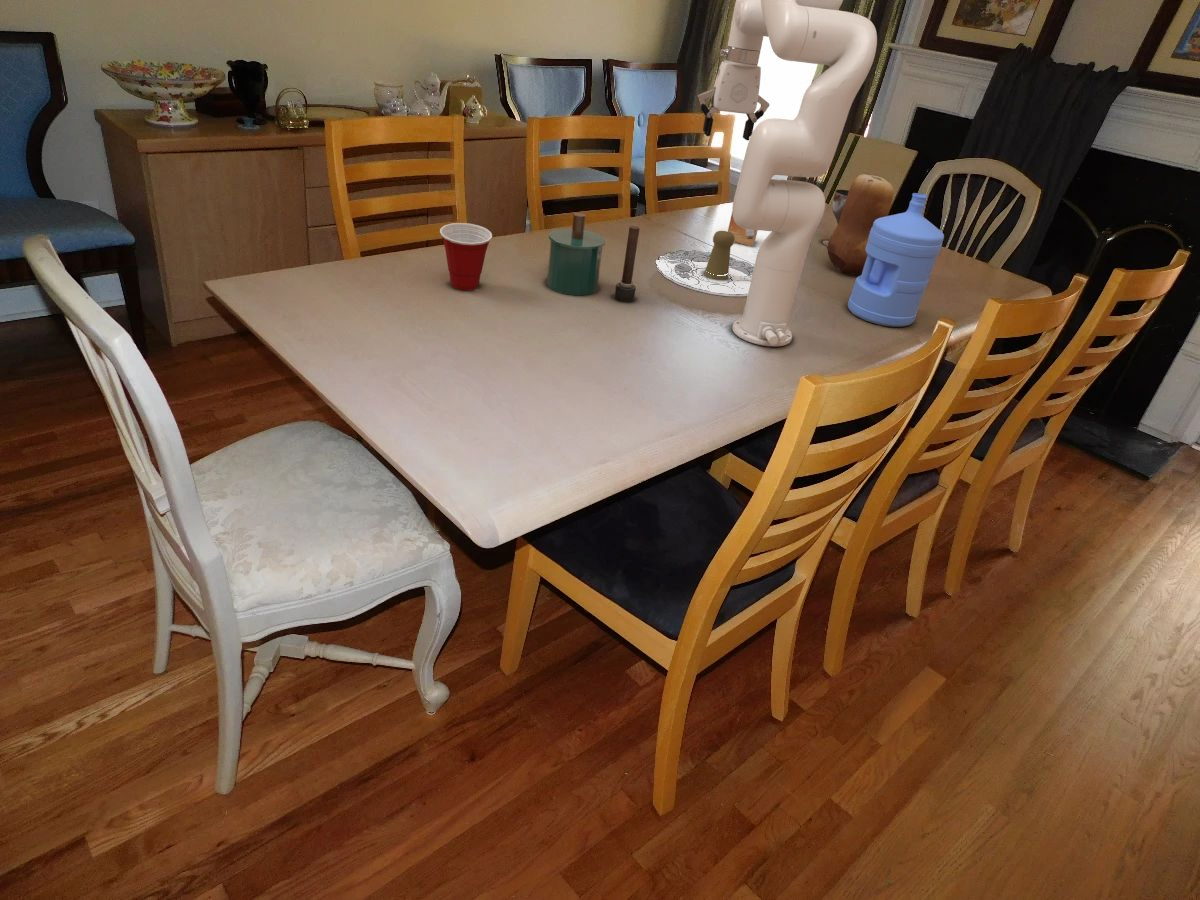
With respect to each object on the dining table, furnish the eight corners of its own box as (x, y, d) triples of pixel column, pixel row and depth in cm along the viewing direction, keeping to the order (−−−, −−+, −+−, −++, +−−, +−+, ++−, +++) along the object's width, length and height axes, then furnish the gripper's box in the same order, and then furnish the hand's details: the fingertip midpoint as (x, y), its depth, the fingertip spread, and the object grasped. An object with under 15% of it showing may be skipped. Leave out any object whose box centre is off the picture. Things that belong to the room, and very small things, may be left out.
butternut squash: (881, 276, 207) (913, 182, 194) (854, 283, 199) (885, 185, 186) (838, 260, 215) (866, 168, 202) (811, 266, 207) (837, 171, 194)
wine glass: (815, 240, 230) (829, 189, 222) (836, 239, 233) (850, 189, 225) (832, 249, 224) (847, 197, 216) (853, 248, 227) (869, 197, 219)
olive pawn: (727, 273, 194) (736, 230, 188) (728, 281, 189) (738, 237, 183) (703, 269, 194) (712, 226, 188) (704, 277, 189) (713, 233, 183)
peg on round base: (635, 302, 169) (646, 231, 161) (616, 301, 168) (626, 229, 160) (632, 295, 173) (642, 225, 164) (612, 294, 172) (622, 223, 163)
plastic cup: (445, 296, 159) (445, 239, 153) (434, 277, 168) (434, 222, 161) (495, 294, 163) (498, 239, 157) (483, 276, 172) (485, 222, 165)
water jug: (899, 305, 189) (939, 190, 174) (923, 331, 176) (969, 209, 161) (838, 299, 187) (873, 182, 173) (858, 324, 174) (898, 200, 159)
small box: (725, 241, 218) (733, 203, 212) (728, 236, 222) (736, 199, 217) (752, 246, 216) (761, 209, 210) (755, 241, 221) (763, 205, 215)
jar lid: (608, 254, 164) (612, 225, 161) (551, 250, 162) (554, 220, 158) (600, 235, 174) (603, 208, 171) (546, 231, 172) (548, 204, 169)
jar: (600, 296, 170) (606, 250, 164) (549, 293, 168) (553, 246, 162) (593, 278, 179) (598, 233, 174) (544, 275, 177) (548, 230, 171)
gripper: (709, 54, 169) (695, 136, 178) (783, 64, 172) (765, 144, 181) (701, 51, 175) (687, 130, 184) (772, 59, 178) (755, 137, 187)
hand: (726, 137), depth 182 cm, fingers open, 9 cm apart
